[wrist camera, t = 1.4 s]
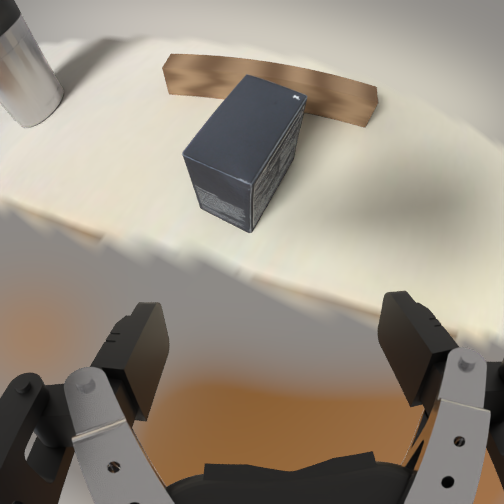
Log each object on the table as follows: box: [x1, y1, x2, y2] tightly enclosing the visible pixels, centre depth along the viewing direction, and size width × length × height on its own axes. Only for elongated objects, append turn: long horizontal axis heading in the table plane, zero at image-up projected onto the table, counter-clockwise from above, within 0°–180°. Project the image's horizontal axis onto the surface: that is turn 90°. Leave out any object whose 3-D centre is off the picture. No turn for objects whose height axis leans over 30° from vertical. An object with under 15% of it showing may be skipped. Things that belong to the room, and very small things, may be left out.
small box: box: [182, 74, 307, 233], centre depth 28 cm, size 11×6×10 cm, turn 152°
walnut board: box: [162, 54, 378, 127], centre depth 34 cm, size 26×3×5 cm, turn 79°
